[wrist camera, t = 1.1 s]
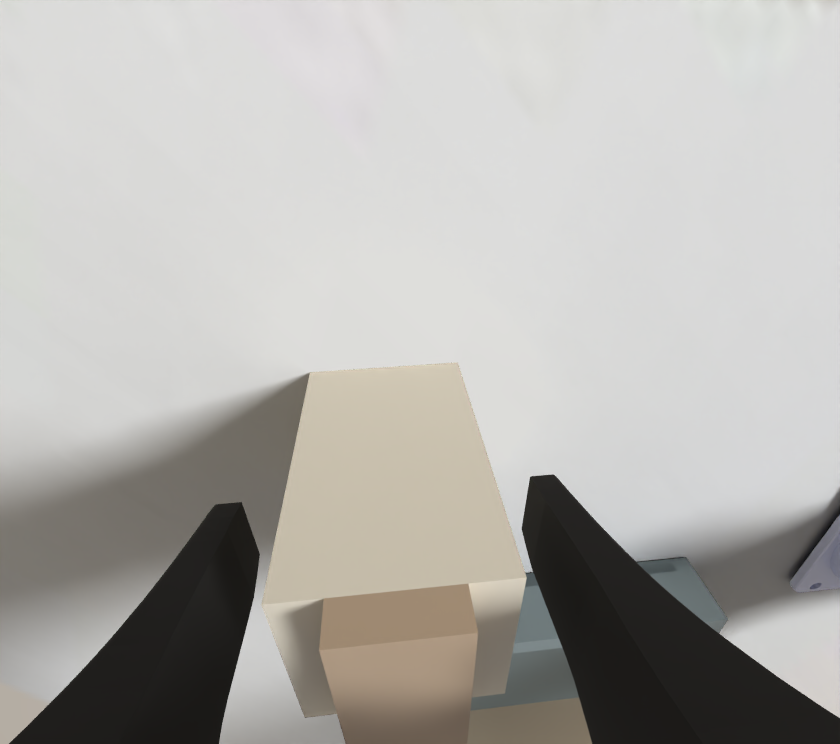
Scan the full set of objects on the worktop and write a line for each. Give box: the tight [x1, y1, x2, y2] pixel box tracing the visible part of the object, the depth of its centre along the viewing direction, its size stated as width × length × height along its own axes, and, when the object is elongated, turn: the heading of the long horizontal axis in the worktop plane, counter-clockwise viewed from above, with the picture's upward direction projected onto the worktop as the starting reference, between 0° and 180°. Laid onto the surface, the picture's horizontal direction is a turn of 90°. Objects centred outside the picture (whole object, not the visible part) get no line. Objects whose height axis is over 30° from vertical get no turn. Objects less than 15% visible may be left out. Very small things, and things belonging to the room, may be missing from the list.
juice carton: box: [262, 363, 527, 744], centre depth 11 cm, size 4×4×8 cm
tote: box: [470, 557, 728, 711], centre depth 24 cm, size 14×20×3 cm
